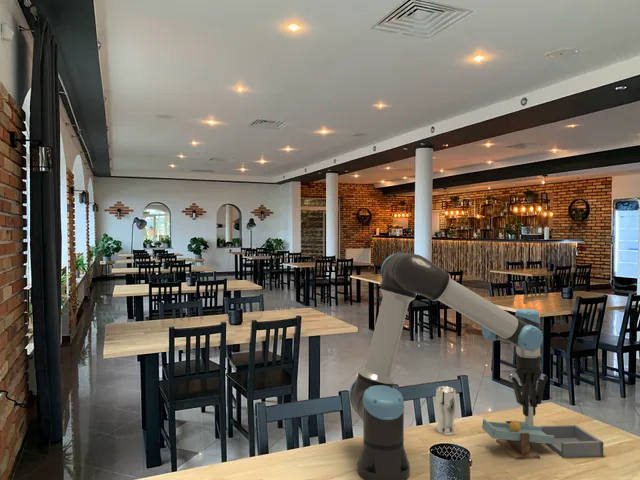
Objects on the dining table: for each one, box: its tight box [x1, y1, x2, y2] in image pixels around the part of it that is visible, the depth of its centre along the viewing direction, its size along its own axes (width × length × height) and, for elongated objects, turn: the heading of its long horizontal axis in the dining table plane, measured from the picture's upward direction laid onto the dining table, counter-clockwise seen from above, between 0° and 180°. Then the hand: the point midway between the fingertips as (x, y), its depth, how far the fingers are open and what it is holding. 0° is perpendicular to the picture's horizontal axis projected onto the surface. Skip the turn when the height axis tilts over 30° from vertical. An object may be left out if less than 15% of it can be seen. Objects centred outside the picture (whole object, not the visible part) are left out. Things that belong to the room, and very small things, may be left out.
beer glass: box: [435, 385, 457, 436], centre depth 169 cm, size 7×7×15 cm
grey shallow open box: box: [539, 424, 604, 459], centre depth 156 cm, size 13×14×4 cm
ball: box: [509, 420, 521, 432], centre depth 154 cm, size 4×4×4 cm
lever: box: [481, 418, 555, 444], centre depth 158 cm, size 20×15×3 cm
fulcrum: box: [495, 420, 541, 460], centre depth 154 cm, size 8×13×7 cm, turn 4°
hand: (529, 424), depth 162 cm, fingers closed
